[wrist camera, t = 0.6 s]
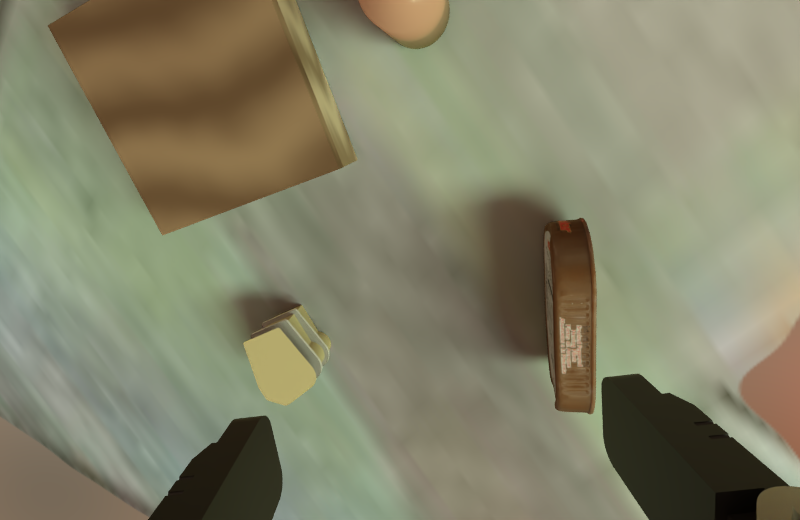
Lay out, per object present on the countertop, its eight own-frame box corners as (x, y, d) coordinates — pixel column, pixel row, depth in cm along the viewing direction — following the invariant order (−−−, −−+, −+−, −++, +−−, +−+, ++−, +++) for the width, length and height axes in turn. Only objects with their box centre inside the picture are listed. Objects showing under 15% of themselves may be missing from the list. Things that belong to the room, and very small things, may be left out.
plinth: (105, 36, 34) (47, 25, 29) (273, -59, 30) (235, -88, 25) (199, 219, 38) (162, 235, 34) (357, 159, 34) (339, 168, 30)
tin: (577, 370, 38) (604, 440, 30) (540, 371, 38) (558, 440, 30) (576, 205, 33) (608, 237, 25) (534, 209, 33) (552, 242, 26)
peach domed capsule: (375, -8, 30) (343, -45, 22) (437, -38, 29) (424, -87, 21) (398, 59, 31) (374, 45, 24) (458, 33, 30) (452, 10, 22)
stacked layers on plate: (240, 310, 42) (208, 339, 36) (314, 276, 39) (290, 302, 34) (293, 389, 44) (269, 427, 39) (366, 362, 41) (351, 399, 36)
